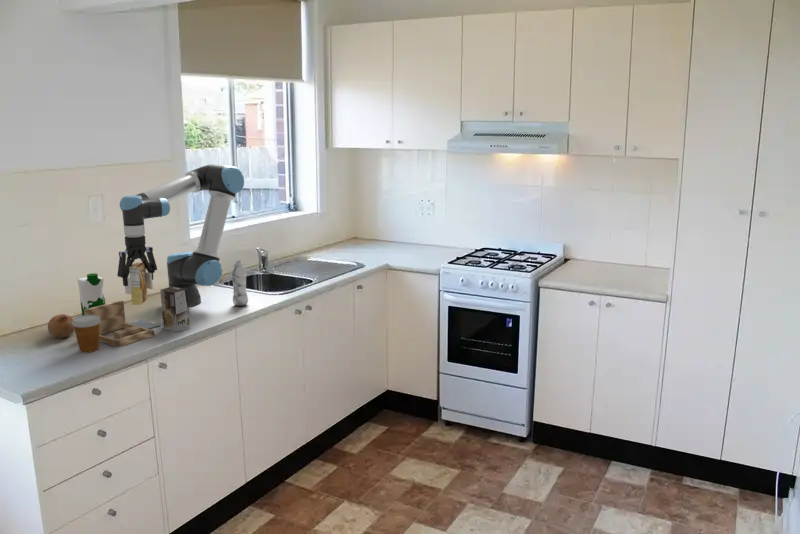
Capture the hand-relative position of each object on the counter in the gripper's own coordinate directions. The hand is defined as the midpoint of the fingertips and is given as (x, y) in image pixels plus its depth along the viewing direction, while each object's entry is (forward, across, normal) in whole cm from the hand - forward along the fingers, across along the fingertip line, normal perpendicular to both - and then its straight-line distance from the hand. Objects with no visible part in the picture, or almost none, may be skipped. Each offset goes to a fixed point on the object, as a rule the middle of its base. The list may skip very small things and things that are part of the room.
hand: (139, 290), depth 271 cm
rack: (+15, +12, +4) cm, 20 cm away
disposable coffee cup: (+15, +28, +8) cm, 33 cm away
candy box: (+5, 0, 0) cm, 5 cm away
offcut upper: (+13, +13, +10) cm, 21 cm away
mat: (+15, 0, 0) cm, 15 cm away
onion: (+15, +25, -14) cm, 33 cm away
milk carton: (+15, +6, -23) cm, 28 cm away
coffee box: (+15, -7, +13) cm, 21 cm away
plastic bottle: (+15, -44, +10) cm, 47 cm away
